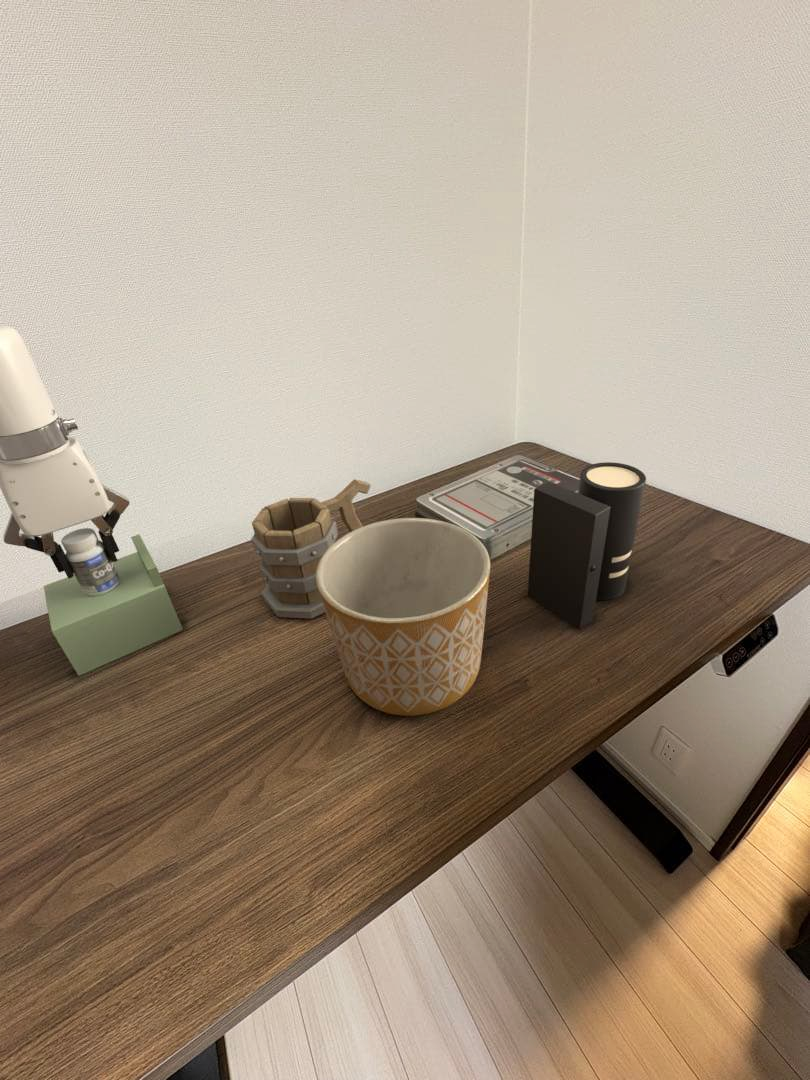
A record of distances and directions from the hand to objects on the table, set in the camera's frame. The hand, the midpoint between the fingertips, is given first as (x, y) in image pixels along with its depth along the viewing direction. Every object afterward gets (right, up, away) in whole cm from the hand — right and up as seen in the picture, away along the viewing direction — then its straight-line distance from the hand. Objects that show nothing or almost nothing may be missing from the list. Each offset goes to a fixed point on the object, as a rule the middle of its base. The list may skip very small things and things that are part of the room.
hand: (91, 564), depth 72 cm
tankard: (+30, -4, +12) cm, 33 cm away
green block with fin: (+1, -10, +7) cm, 12 cm away
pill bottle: (0, -3, +2) cm, 4 cm away
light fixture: (+69, -4, +6) cm, 69 cm away
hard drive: (+61, +8, +26) cm, 67 cm away
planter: (+43, -13, -4) cm, 46 cm away
